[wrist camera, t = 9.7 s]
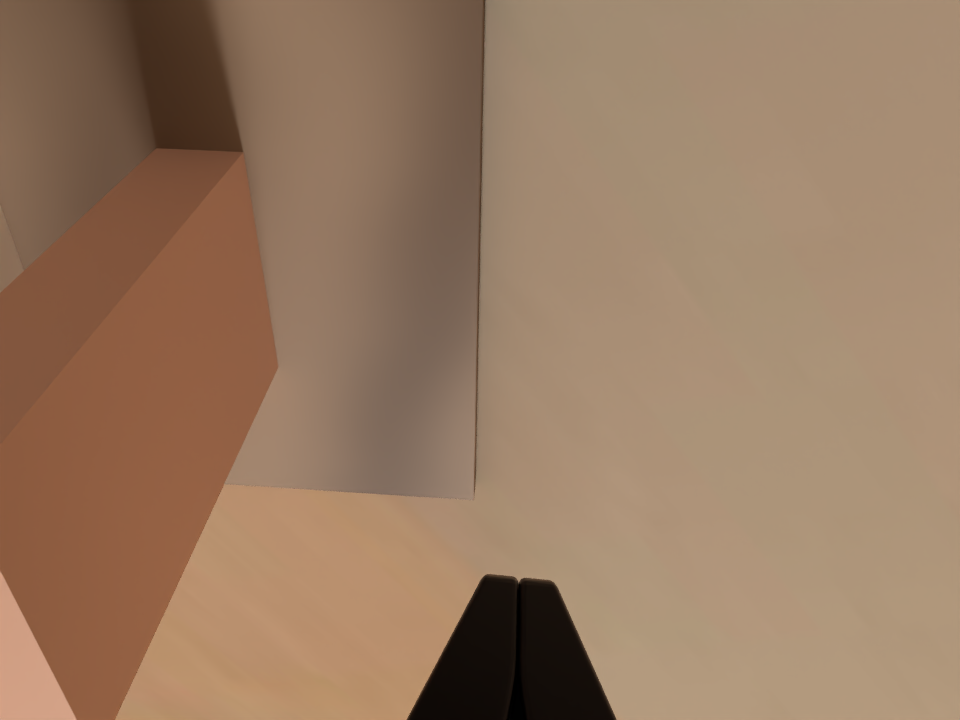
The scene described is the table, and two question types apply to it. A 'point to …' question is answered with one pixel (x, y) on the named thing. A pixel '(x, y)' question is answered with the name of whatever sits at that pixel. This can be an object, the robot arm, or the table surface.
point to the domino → (8, 256)
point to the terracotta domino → (122, 422)
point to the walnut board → (290, 200)
